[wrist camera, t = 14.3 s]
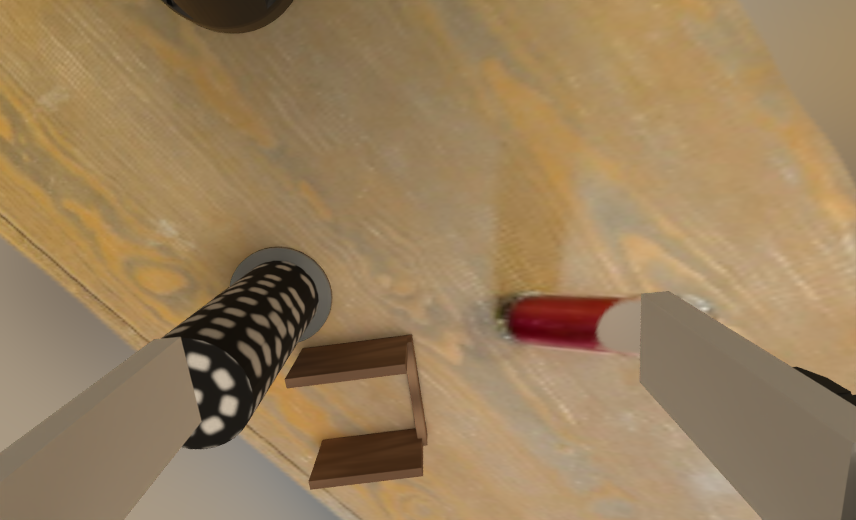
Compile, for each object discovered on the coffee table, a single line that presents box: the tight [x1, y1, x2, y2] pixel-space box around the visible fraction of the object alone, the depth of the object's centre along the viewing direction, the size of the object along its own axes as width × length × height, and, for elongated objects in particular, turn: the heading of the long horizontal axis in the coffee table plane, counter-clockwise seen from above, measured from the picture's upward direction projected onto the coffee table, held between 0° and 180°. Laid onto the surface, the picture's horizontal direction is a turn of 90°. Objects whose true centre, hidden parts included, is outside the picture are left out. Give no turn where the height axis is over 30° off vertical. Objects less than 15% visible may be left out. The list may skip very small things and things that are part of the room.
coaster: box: [230, 247, 332, 342], centre depth 51 cm, size 11×11×1 cm
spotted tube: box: [161, 261, 319, 449], centre depth 41 cm, size 8×8×20 cm
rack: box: [285, 335, 427, 490], centre depth 51 cm, size 13×12×7 cm
